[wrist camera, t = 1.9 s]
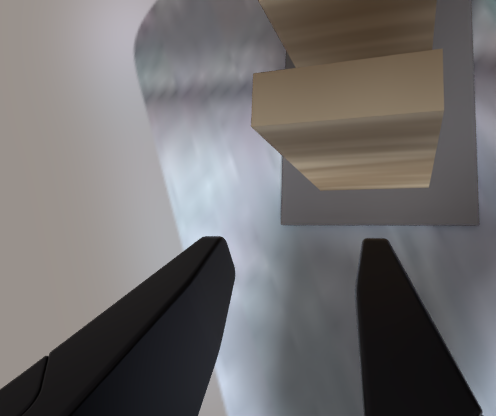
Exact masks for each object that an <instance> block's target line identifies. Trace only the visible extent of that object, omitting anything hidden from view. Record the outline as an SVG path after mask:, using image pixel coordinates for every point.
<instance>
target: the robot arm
mask: <svg viewBox="0 0 496 416" xmlns="http://www.w3.org/2000/svg"><path fill="white" fill-rule="evenodd" d="M234 281H235V267H234V264H233V261H232V258H231V254H230V251H229V248H228V245H227V242H226V240H225V239H224V238H223V237H220V236H205V237H202V238H201V239H199V240H198V241H196V242H195V243H194V244H193V245H191V246H190V247H189V248H187V249H186V250H185V251H183V252H182V253H181V254H179V255H178V256H177V257H176V258H174V259H173V260H172V261H170V262H169V263H167V265H165V266H163V267H162V268H161V269H160V270H158V271H157V272H156V273H154V274H153V275H152V276H150V277H149V278H148V279H146V280H145V281H144V282H142V283H141V284H140V285H138V286H137V287H136V288H135V289H133V290H132V291H131V292H129V293H128V294H127V295H125V296H124V297H123V298H121V299H120V300H119V301H117V302H116V303H115V304H113V305H112V306H111V307H109V308H108V309H107V310H106V311H104V312H103V313H101V314H100V315H99V316H97V317H96V318H95V319H94V320H92V321H91V322H90V323H88V324H87V325H86V326H84V327H83V328H82V329H80V330H79V331H78V332H76V333H75V334H74V335H72V336H71V337H70V338H68V339H67V340H66V341H65V342H63V343H62V344H60V345H59V346H58V347H56V348H55V349H54V350H53V351H52V352H50V354H49V356H45V357H43V358H42V359H41V360H39V361H38V362H37V363H35V364H34V365H33V366H31V367H30V368H29V369H27V370H26V371H25V372H23V373H22V374H21V375H20V376H18V377H16V378H15V379H14V380H12V381H11V382H10V383H8V384H7V385H6V386H4V387H3V388H1V389H0V416H198V414H199V411H200V408H201V405H202V402H203V399H204V396H205V393H206V390H207V386H208V384H209V381H210V378H211V375H212V372H213V369H214V366H215V363H216V360H217V356H218V353H219V350H220V346H221V341H222V337H223V333H224V328H225V323H226V318H227V314H228V309H229V304H230V299H231V295H232V290H233V285H234ZM355 302H356V315H357V329H358V342H359V355H360V368H361V381H362V394H363V407H364V416H483V415H482V409H481V407H480V405H479V404H478V402H477V400H476V398H475V396H474V395H473V393H472V391H471V389H470V387H469V385H468V384H467V382H466V380H465V378H464V376H463V375H462V373H461V371H460V369H459V367H458V366H457V364H456V362H455V360H454V358H453V356H452V355H451V353H450V351H449V349H448V347H447V346H446V344H445V342H444V340H443V338H442V337H441V335H440V333H439V331H438V329H437V327H436V326H435V324H434V322H433V320H432V318H431V317H430V315H429V313H428V311H427V309H426V308H425V306H424V304H423V302H422V300H421V298H420V297H419V295H418V293H417V291H416V289H415V288H414V286H413V284H412V282H411V280H410V279H409V277H408V275H407V273H406V271H405V269H404V268H403V266H402V264H401V262H400V260H399V259H398V257H397V255H396V253H395V251H394V250H393V248H392V246H391V244H390V242H389V241H388V240H387V239H381V238H366V239H364V240H363V241H362V246H361V253H360V259H359V266H358V273H357V279H356V288H355Z"/></svg>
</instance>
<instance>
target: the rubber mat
mask: <svg viewBox="0 0 496 416" xmlns="http://www.w3.org/2000/svg"><path fill="white" fill-rule="evenodd" d="M435 49H443V84H444V114H443V119H442V124H441V129H440V134H439V139H438V144H437V149H436V154H435V159H434V164H433V169H432V174H431V179H430V184H429V188H397V189H360V190H323V191H320V190H319V189H318V188H317V187H316V186H315V185H314V184H313V183H312V182H311V181H309V180H308V179H307V178H306V177H305V176H304V175H303V174H302V173H301V172H300V171H299V170H298V169H296V168H295V167H294V166H293V165H292V164H291V163H290V162H289V161H288V160H287V159H286V158H284V157H283V170H282V205H281V225H462V226H478V225H479V203H478V175H477V147H476V119H475V91H474V63H473V35H472V7H471V0H437V3H436V14H435V25H434V36H433V47H432V50H435ZM292 68H296V67H295V65H294V64H293V62H292V60H291V58H290V56H289V55H288V53H287V51H286V66H285V69H292Z"/></svg>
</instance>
